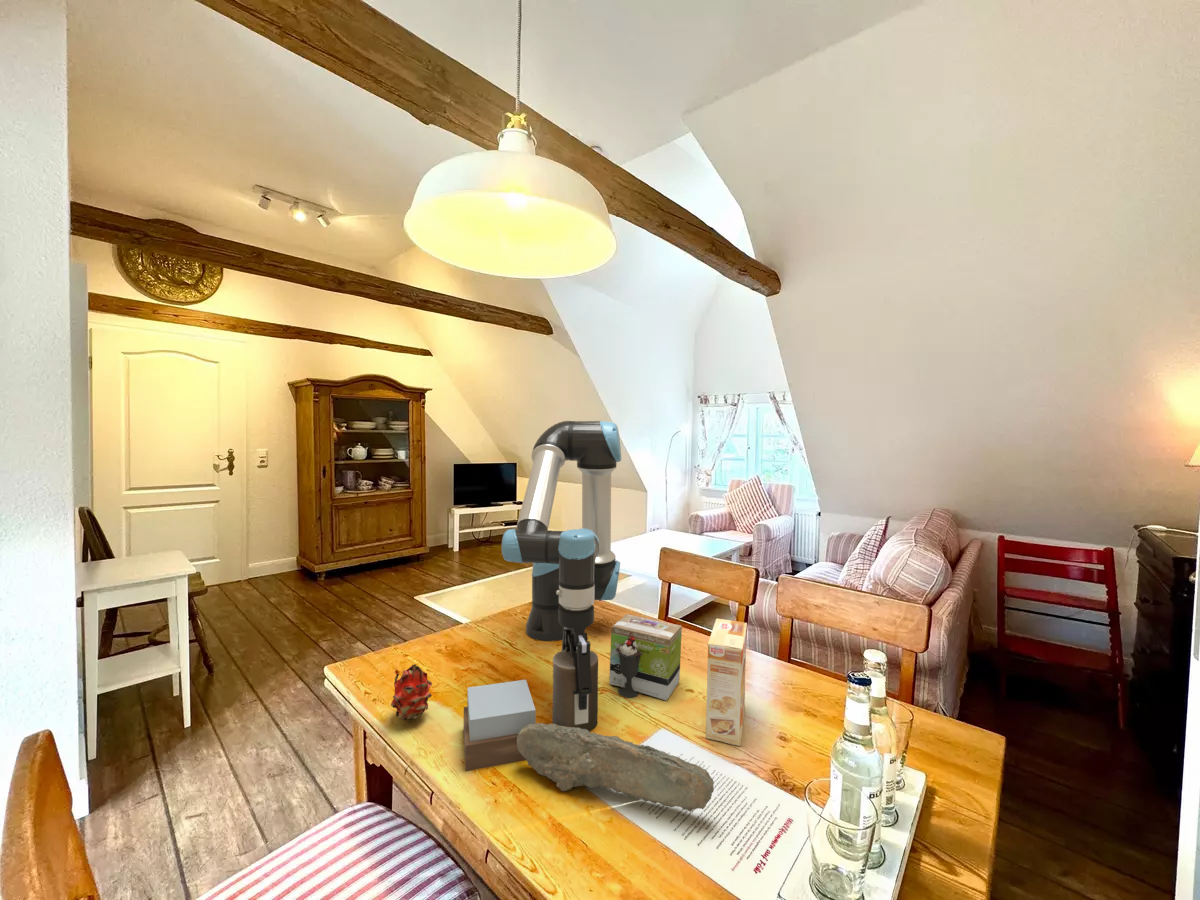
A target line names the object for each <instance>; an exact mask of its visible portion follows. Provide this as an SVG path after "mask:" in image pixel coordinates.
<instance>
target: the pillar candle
mask: <svg viewBox="0 0 1200 900" xmlns="http://www.w3.org/2000/svg"><path fill="white" fill-rule="evenodd" d="M574 652H575V653H577V651H574ZM590 664H591V682H592V694H588V723H583V724H577V725H575V723H574V702H575V695H573V691H576V682H575V667H574V661H573V657H571V655H570V651H568V652H566V650H562V649H561V651H558V652H557V653H555V654H554V656H553V658H552V724H556V725H559V726H565V727H575V728H581V729H586V730H588V731H589V732H591V731H592V730H594V729H595V728H596V727H597V725H598V723H599V721H598V714H599V710H598V709H599V705H598V700H599V699H598V698H599V656H598V654H597V653H595V652H594V651H592V650H590Z"/></svg>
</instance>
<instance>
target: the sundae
mask: <svg viewBox="0 0 1200 900" xmlns="http://www.w3.org/2000/svg"><path fill="white" fill-rule="evenodd" d="M631 634H632V633H630V635H629V637H630V636H631ZM616 651H617V652H618V653H619V659H620V669H621V673H622V674H623V676H625V677H626V678H627V682H626V686H625V688H624V687H620V688H618V691H617V692H618V694H619V695H620V696H621V697H623V698H628V699H629V698H630V699H633V698H636V697H638V696H639V694H640V692H637V691H634V690H633V688H632V683H631V682H632V678H633V677H635V676H636V675H637V672H638V667H639V660H640V656H641V655H643V654H642V653H640V652H639V650H638V646H637V643H636V641H635V638H634V637H632V636H631V637H630V638H628V639H626V641H625V642H624V644H623V645H622V646H621V647H620V648H617V649H616Z"/></svg>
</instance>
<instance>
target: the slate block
mask: <svg viewBox="0 0 1200 900" xmlns="http://www.w3.org/2000/svg"><path fill="white" fill-rule="evenodd" d="M466 694H467V699H466V701H467V705H466V707H467V708H468V722H469V737H470V742H472V741H478V740H484V739H490V738H496V737H502V736H507V735H513V734H519V732H520V731H521V729H522V728H523V727H525V726H526V725H527V724H535V723H536V721H537V717H536V716H537V715H536V712H537V711H536V707H535V704H534V701H533V698H532V695H531V692H530V688H529V684H528V682H527V679H520V680H514V681H513V680H512V681H507V682H498V683H490V684H484V685H477V686H476V685H475V686H469V687H467V693H466Z"/></svg>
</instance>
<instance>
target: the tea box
mask: <svg viewBox="0 0 1200 900" xmlns="http://www.w3.org/2000/svg"><path fill="white" fill-rule="evenodd" d="M682 629H683V627H682V625H681V624H677V623H675V624H674V623H671V622H667V621H662V620H661V621H660V620H658V619H657V620H656V619H652V618H647V617H644V616H643V617H642V616H638V615H634V614H629V613H626V614H625V615H624V616H623V617H622V618H620V619H619V620H618V621H616V623H615V624H613V625H612V626H611V630H610V631H611V634H610V635H611V636H610V651H609V652H610V655H609V656H610V657H609V659H610V660H609V685H612V686H617V687H620V688H622V687H624V688H625V686H626V682H627V678H626V677H625V676H623V674H622V673H621V669H620V659H619V653H618V652H617V651H616V649H617V648H620V647H621V646H622V645H623V644H624V642H625V641H626V639H628V638H630V637H631V636H632V637H634V638H635V641H636V643H637V646H638V650H639V652H640V653H642V654H643V655H641V656H640V660H639V667H638V672H637V675H636V676H635V677H633V678H632V682H631V683H632V688H633V690H634V691H637V692H639V694H645V695H648V696H650V697H654V698H656V699H660V700H663V701H665V702H666V701H667V700H668V699H669V698H670V696H671V695H672V694H673V692H674V690H676V689H675V688H676V687H677V686H678V684H679V683H680V673H681V656H682V634H683V633H682V632H683V631H682ZM630 633H632V634H631V636H630V637H629V635H630Z"/></svg>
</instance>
